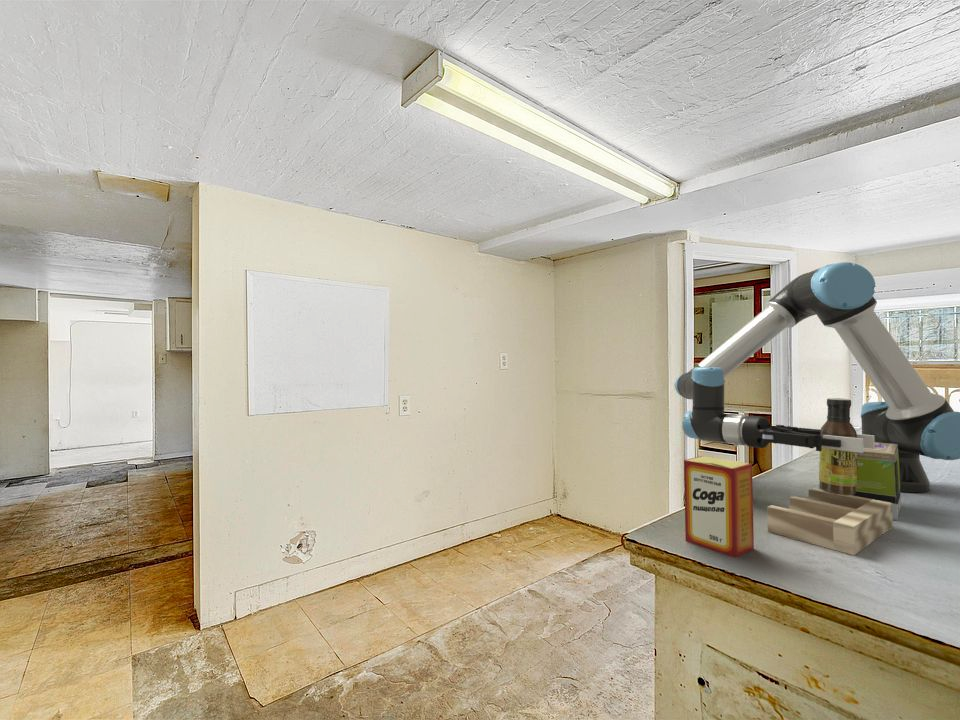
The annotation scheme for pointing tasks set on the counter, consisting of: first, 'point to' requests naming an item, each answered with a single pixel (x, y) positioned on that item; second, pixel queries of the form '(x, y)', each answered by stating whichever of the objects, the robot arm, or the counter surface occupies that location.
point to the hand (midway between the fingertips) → (868, 443)
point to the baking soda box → (719, 504)
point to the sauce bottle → (838, 451)
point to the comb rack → (832, 520)
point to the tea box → (880, 475)
